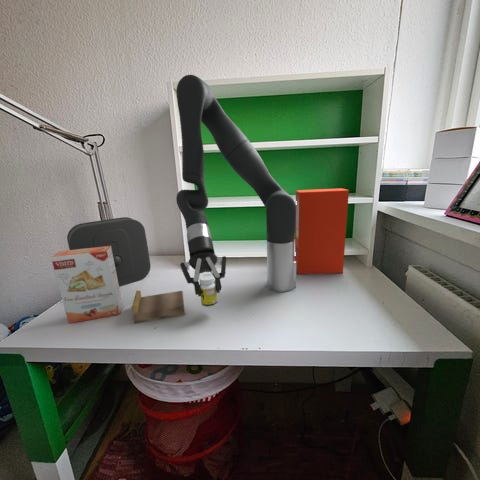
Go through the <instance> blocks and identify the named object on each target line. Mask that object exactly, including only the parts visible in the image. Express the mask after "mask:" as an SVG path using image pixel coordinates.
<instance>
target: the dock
mask: <svg viewBox="0 0 480 480" xmlns="http://www.w3.org/2000/svg"><path fill="white" fill-rule="evenodd" d="M183 294H184V293H183V290H177V291H171V292H166V293H159V294H154V295H146V296H142V293H141V290H136V292H135V295H134V297H133V300H132V304H131V310H132V317H133V321H134V324H139V323H146V322H152V321H157V320H163V319H168V318H172V317H179V316H183V315H185V314H186V313H185V304H184V303H185V301H184V295H183Z"/></svg>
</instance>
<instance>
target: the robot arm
mask: <svg viewBox="0 0 480 480" xmlns="http://www.w3.org/2000/svg"><path fill="white" fill-rule="evenodd" d="M176 99H177V100H176V101H177V108H178V113H179V122H180V123H179V124H180V131H181V145H182V146H181V149H182V152H181V153H182V156H181V157H182V158H181V159H182V160H181V161H182V162H181V163H182V164H181V166H182V167H181V168H182V169H181V171H182V172H181V173H182V175H181V176H182V181H183V182H185V183H186V184H187V183H188V184H192V185H195V187H196V188H197V189H181V190H179V191H178V192H177V194H176V198H175V199H176V204H177V207H178V209H179V211H180V212H181V214H182V217H183V219H184V221H185V228H186V229H185V230H186V240H187V241H186V242H187V247H188V253H189V258H188V261H186V262H181V263H180V270H181V272H182V274H183V276H184V278H185V281H186V282H187V284H189V285H190V284H193V286H194V292H195V295H196V296H198V297H201V292H200V286H199V285H200V277H201V276H200V274H203V273H209V272H210V275H213V276H214V282H215V283H216V290H217V294H219V293H221V290H222V283H221V279H224V278H225V276H226V268H227V267H226V266H227V257H226V255H225V256H224V255H223V256H222V257H221V256H220V257H219V256H217V255H216V253H215V248H214V243H213V239H212V233H211V230H210V228H209V223H208V218H207V214H206V213H205V212H204V211H205V210H206V209H207V207H208V205H209V197H208V193H207V189H206V183H205V152H204V144H203V138H202V124H203V125H204V126H205V127H206V128H207V130H208V131H209V133H210V134H211V136H212V138H213V140H214V142H215V144H216V147H217V148H218V150H219V152H220V153H221V156H223V158H224V159H225V161H227V163H228V164H229V165H230V167H231V168H232V170H233V171H234V172H235V173H236V174H237V175H238V176H239V177H240V178H241V179H242V180H243V181H244V182H246V183H247V184H248V185H249V186H250V187H251V188H252V189H253V190H254V191H255V194H256V195H257V196H258V198H259V199H260V200H261V202H262V204H263V205H264V207H265V209H266V210H265V213H266V215H265V217H266V218H265V219H266V221H265V222H266V232H265V233H266V269H267V270H266V272H267V273H266V275H267V277H266V279H267V282H266V283H267V288H268V289H269V290H270V291H274V292H278V293H284V292H285V293H286V292H289V291H291V290H293V289H294V288H297V271H296V262H295V224H296V200H295V199H294V198H293V197H292V195H290V194H289V193H288V192H287V191H286V190H285V189H283V187H281V185H279V183H278V182H277V181H276V180H275V179H274V178H273V176H272V175H271V174H270V171H269V170H268V168H267V166H266V164H265V163H264V160H263V159H262V156H260V154H259V152H258V151H257V150H256V148H255V146H254V145H253V144H252V143H251V141H250V139H248V137H247V136H246V135H245V134H244V133H243V132H242V130H241V129H240V128H239V127H238V126H237V125H236V123H234V122H233V121H232V119H231V118H230V117H229V116H228V115H227V114H226V112H225V111H224V109H223V108H222V106H221V105H220V103H219V102H218V99H217V97H216V96H215V94H214V93H213V91H212V89H211V87H210V86H209V85H208V84H207V83H206V82H205V81H204V80H203V79H201V78H200V77H199V76H197V75H195V74H187V75H184V76H183V77H181V78H180V80H179V81H178V83H177V85H176ZM217 262H218V264H219V266H221V267H220V272H218V270H217V268H216V266H215V265H216V264H217ZM189 267H191V268H193V270H194V275H193V277H191V275H190V273H189V269H190V268H189Z"/></svg>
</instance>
